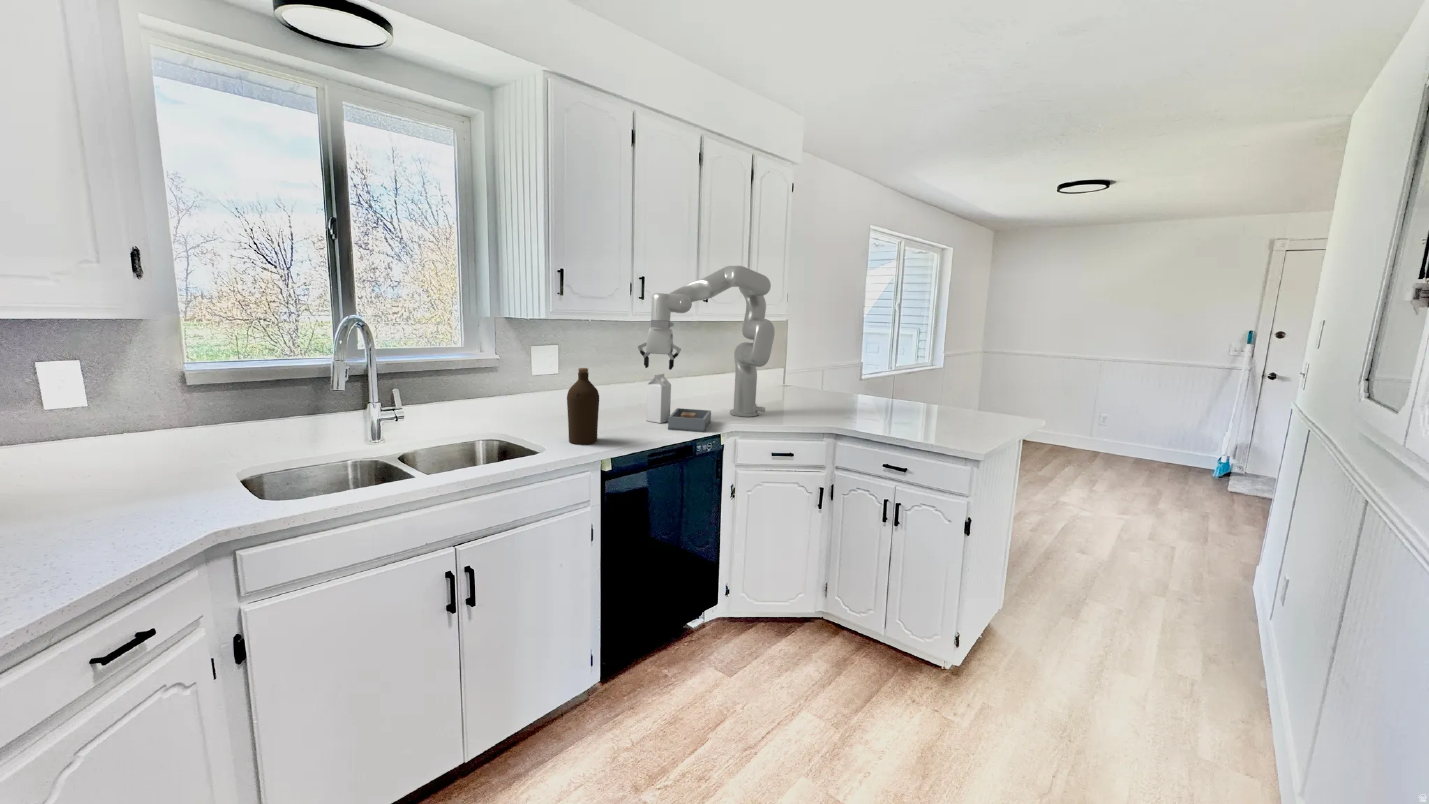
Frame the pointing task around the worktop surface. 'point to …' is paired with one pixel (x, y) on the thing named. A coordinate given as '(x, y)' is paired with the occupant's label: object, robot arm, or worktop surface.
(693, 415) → the walnut cube
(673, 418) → the tote
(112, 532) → the worktop surface
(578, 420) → the olive oil
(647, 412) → the milk carton
